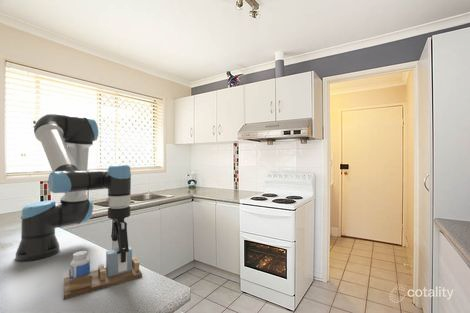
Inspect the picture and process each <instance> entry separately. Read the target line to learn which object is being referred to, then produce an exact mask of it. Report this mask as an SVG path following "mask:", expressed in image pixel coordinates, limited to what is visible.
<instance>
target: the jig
mask: <svg viewBox="0 0 470 313" xmlns="http://www.w3.org/2000/svg"><path fill="white" fill-rule="evenodd" d="M97 268H98V269H96V270H95V269H94V270H90V274H88V275H84V276H80V277H76V278H72V279H71V268H70V269H69V270H68V276H66V277H64V278H63V300H66V299H70V298H74V297H76V296H80V295H84V294H87V293H91V292H94V291H97V290H101V289H105V288H108V287H111V286H114V285H115V286H116V285H118V284H123V283H125V282H129V281H132V280H133V281H134V280H136V279H139V278H142V277H143V273H142V271H141V270H140V261H139V259H138V258H137V257H136V256H132V271H129V272H125V273H121V274H118V275H114V276H110V277H108V276H107V274H106V267H105V265H104V263H103V264H98V267H97Z"/></svg>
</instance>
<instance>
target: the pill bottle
mask: <svg viewBox="0 0 470 313" xmlns="http://www.w3.org/2000/svg"><path fill="white" fill-rule="evenodd" d="M90 260H91V259H90V258H89V257H88V251H87V250H79V251H77V252H74V253H73V254H72V260H71V261H70V269H71V279H72V278H76V277H80V276H84V275H88V274H90V272H91V266H90V265H91V264H90V263H91V262H90Z"/></svg>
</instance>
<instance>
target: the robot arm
mask: <svg viewBox="0 0 470 313" xmlns="http://www.w3.org/2000/svg"><path fill="white" fill-rule="evenodd" d="M33 128H34V129H33V132H34V136H35V138H36V139H37V141H39V142H40V143H41V145H42V148H43V151H44V154H45V156H46V158H47V160H48V164H49V166H50V169H51V172H50V173H49V175H48V180H47V182H48V189H49V191H50V192H51V193H53V194H63V195H62V196H61V197H60V201H59V202H56V201H55V200H54V199H53V200H52V199H51V200H50V199H49V200H43V201H37V202H34V203H29V204H27V205H25V206H24V207H23V208H22V210H21V216H20V218H21V224H20V226H21V229H20V230H21V233H20V234H21V235H20V236H21V237H20V238H21V239H20V242H19V245H18V247H17V249H16V252H15V260H16V261H18V262H29V261H30V262H31V261H36V260H41V259H44V258H48V257H51V256H53V255H55V254H57V253H58V252H60V243H59V241H58V238H57V237H56V229H57V228H63V227H68V226H73V225H80V224H83V223H86V222H88V221H89V220H90V219H91V217H92V216H93V210H94V206H93V205H94V204H93V201H92V199H90V197H89V195H87V192H86V191H95V190H107V198H106V199H105V200H106V202H107V206H108V208H107V218H108V219H110V220H112V223H111V224H112V225H111V235H110V238H111V250H113V249H118V248H119V251H118V252H117V254H118V272H122V271H126V270H127V252H129V248H128V246H129V238H128V223H127V222H126V221H125V219H126V218H129V217H130V216H131V206H130V205H131V204H132V203H131V196H132V195H131V184H132V174H131V173H132V172H131V166H130V165H126V164H115V165H114V164H113V165H109V166H108V169H107V168H106V169H105V168H103V169H93V170H92V169H89V170H88V165H89V164H88V163H89V150H90V148H91V146H93V145H94V144H93V143H94V142H95V141H97V139H98V137H99V127H98V124H97V122H96V120H95V119H94V118H93V117H90V116H89V117H88V116H86V115H76V114H67V113H61V112H60V113H59V112H51V113H48V114H45V115H43V116H42V117H40V118H39V119H38V120H37V121H36V122H35V124H34V127H33ZM123 248H125V249H123Z"/></svg>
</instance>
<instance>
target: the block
mask: <svg viewBox="0 0 470 313" xmlns="http://www.w3.org/2000/svg"><path fill="white" fill-rule="evenodd" d="M128 248H129V252H127V270H126V271H122V272H118V254H117V252H118V251H119V248H118V249H113V250H112V249H108V250H106V252H105V253H106V255H105V257H106V259H105V262H106V263H105V268H106V274H107V276H108V277H110V276H114V275H118V274H121V273H125V272H129V271H132V257H133V248H132V246H130V245H128ZM123 249H125V248H123Z"/></svg>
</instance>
